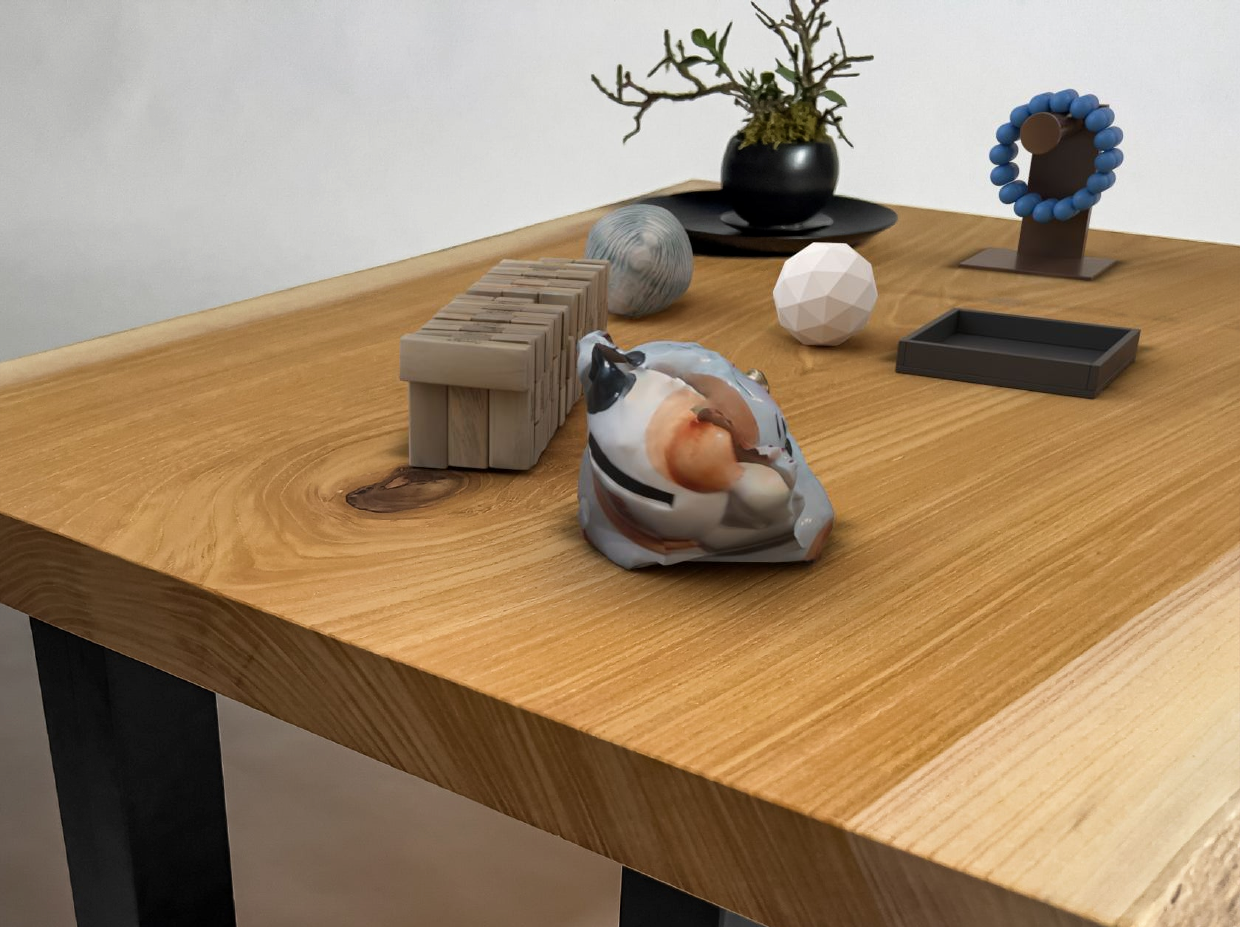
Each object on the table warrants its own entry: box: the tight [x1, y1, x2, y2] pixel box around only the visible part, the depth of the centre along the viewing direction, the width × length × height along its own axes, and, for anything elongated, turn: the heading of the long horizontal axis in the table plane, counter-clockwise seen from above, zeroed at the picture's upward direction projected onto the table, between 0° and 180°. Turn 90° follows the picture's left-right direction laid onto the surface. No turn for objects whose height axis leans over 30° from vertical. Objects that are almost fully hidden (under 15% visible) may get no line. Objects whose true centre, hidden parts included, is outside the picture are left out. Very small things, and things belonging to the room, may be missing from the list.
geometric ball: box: [772, 242, 879, 347], centre depth 123 cm, size 8×8×8 cm
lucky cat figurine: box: [576, 330, 835, 570], centre depth 80 cm, size 15×12×14 cm
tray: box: [894, 307, 1142, 400], centre depth 118 cm, size 14×13×2 cm
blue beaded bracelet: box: [988, 88, 1125, 223], centre depth 145 cm, size 11×5×11 cm, turn 58°
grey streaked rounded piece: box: [584, 203, 694, 320], centre depth 135 cm, size 14×10×10 cm
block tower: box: [398, 256, 610, 471], centre depth 105 cm, size 8×8×29 cm
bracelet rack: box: [957, 103, 1117, 282], centre depth 146 cm, size 12×12×15 cm
